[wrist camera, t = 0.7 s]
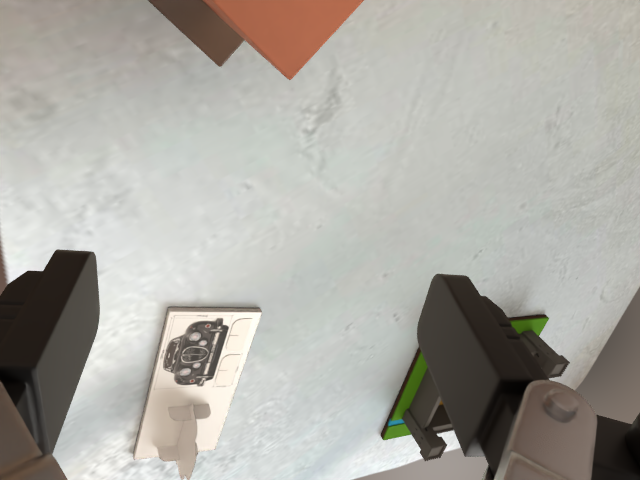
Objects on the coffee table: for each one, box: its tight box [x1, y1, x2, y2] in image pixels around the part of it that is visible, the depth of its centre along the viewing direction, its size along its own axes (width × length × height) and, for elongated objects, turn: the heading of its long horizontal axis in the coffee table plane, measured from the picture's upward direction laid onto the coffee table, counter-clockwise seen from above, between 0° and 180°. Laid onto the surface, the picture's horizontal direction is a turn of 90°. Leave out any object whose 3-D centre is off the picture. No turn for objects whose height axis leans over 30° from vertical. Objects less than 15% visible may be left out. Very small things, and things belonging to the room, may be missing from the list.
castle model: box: [381, 315, 570, 461], centre depth 51 cm, size 15×15×7 cm
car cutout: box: [133, 307, 262, 480], centre depth 38 cm, size 15×7×4 cm, turn 160°
